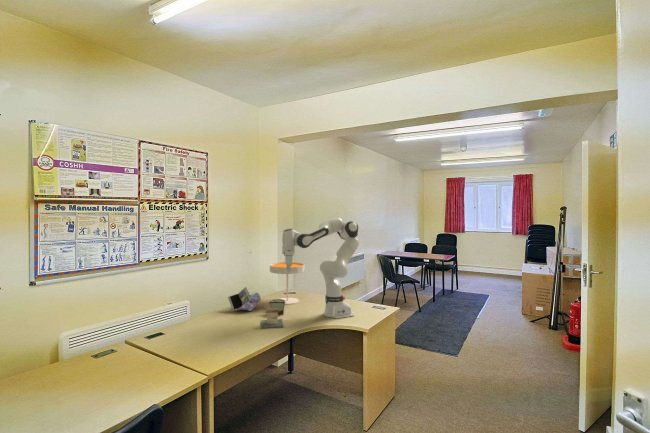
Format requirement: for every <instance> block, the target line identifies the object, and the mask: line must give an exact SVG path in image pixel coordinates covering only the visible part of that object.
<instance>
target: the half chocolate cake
mask: <svg viewBox="0 0 650 433" xmlns="http://www.w3.org/2000/svg"><path fill="white" fill-rule="evenodd" d="M268 304H269V309H274V308H279V313H278V316H280V315H281V316H284V313H285V300H282V299H280V298H275V299H271V300H269V302H268Z"/></svg>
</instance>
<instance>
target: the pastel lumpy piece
mask: <svg viewBox="0 0 650 433" xmlns="http://www.w3.org/2000/svg"><path fill="white" fill-rule="evenodd" d="M227 298H228V299H227V300H228V302H229V303H230V307H231V309H232V312H235V311H249V312H251V311H253V310H254V309H255V308H256V307H257V304H259V303H260V302H261V300H262V299H261V295H260V293H259V292H254V293H253V294H250V292H249V290H248V289H247V287H246V286H245V287H243V288H242V289H241V290H240V291H239V292H238V293H237V294H236V293H235V294H233V295H230V296H228V297H227Z"/></svg>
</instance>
